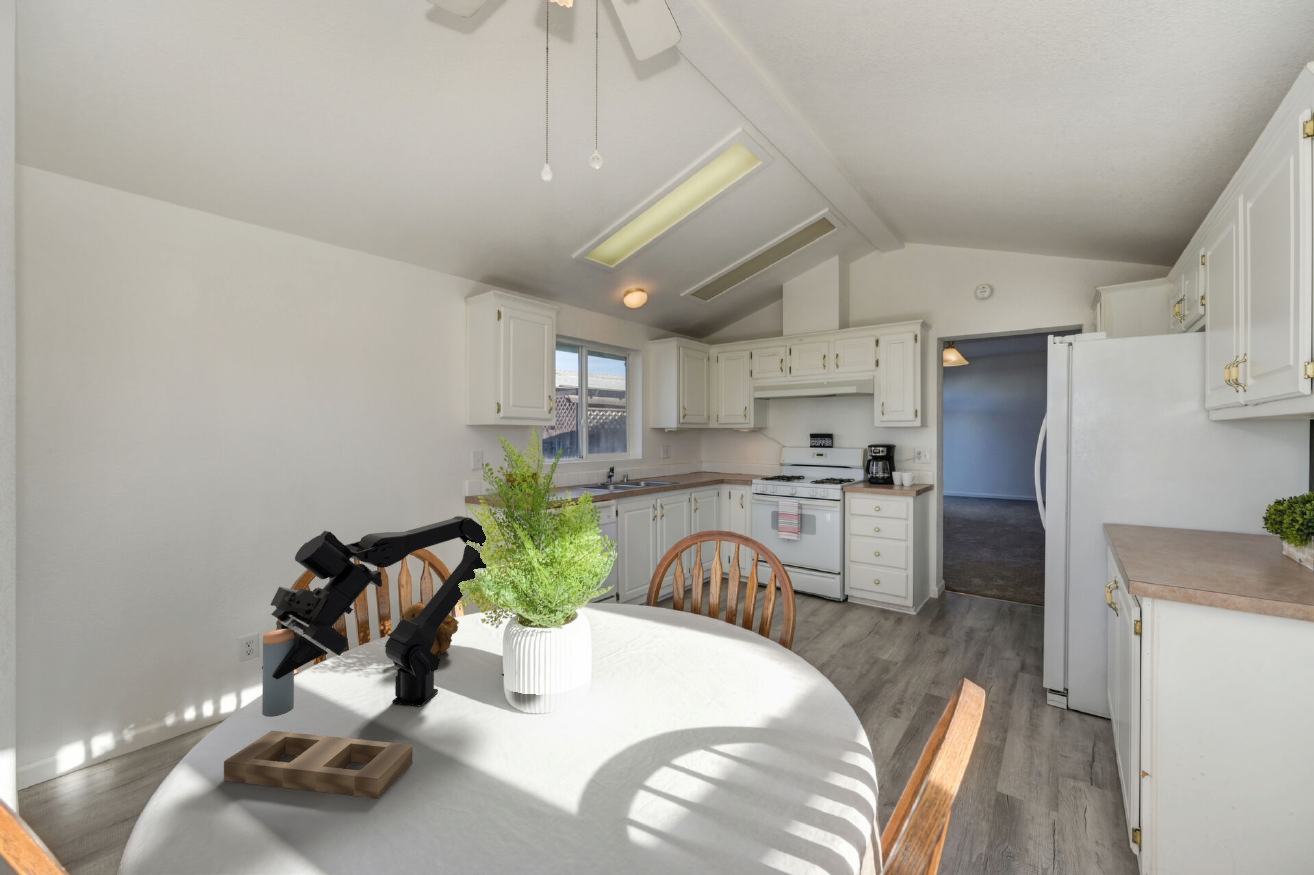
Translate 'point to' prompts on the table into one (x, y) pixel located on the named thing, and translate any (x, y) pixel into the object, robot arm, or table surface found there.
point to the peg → (274, 690)
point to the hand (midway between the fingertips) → (269, 674)
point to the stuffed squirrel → (443, 631)
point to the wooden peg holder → (320, 763)
